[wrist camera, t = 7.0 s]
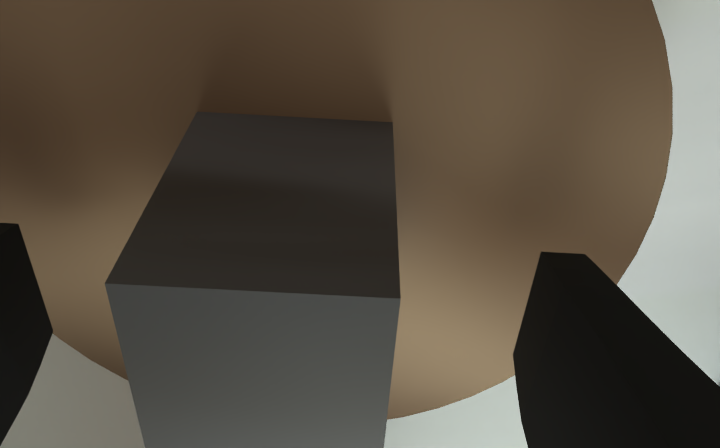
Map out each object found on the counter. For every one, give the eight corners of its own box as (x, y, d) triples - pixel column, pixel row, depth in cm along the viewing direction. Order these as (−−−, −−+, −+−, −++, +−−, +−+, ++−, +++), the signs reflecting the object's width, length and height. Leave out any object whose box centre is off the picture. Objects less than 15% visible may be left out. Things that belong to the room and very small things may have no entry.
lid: (557, 401, 15) (624, 637, 11) (47, 375, 15) (-79, 604, 11) (776, -219, 8) (1201, -216, 4) (-187, -278, 8) (-803, -335, 4)
